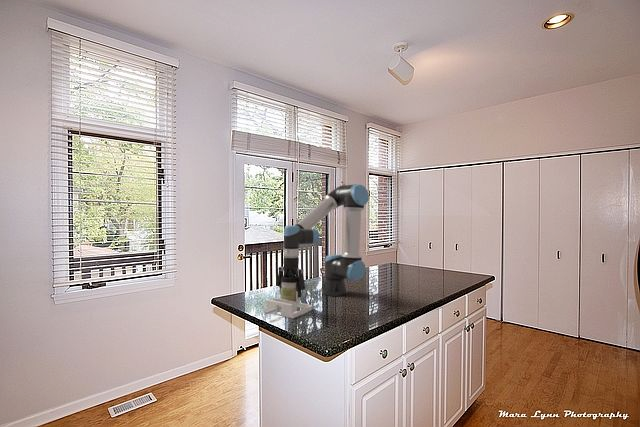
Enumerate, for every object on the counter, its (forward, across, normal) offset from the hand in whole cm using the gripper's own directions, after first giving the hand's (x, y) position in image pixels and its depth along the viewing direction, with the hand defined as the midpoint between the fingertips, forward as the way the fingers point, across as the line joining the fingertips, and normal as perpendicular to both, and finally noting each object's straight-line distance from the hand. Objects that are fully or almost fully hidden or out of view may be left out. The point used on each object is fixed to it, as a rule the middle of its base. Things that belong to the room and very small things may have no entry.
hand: (290, 302), depth 169 cm
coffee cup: (+3, 0, 0) cm, 3 cm away
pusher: (+4, 0, -11) cm, 12 cm away
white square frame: (+4, 0, -1) cm, 4 cm away
